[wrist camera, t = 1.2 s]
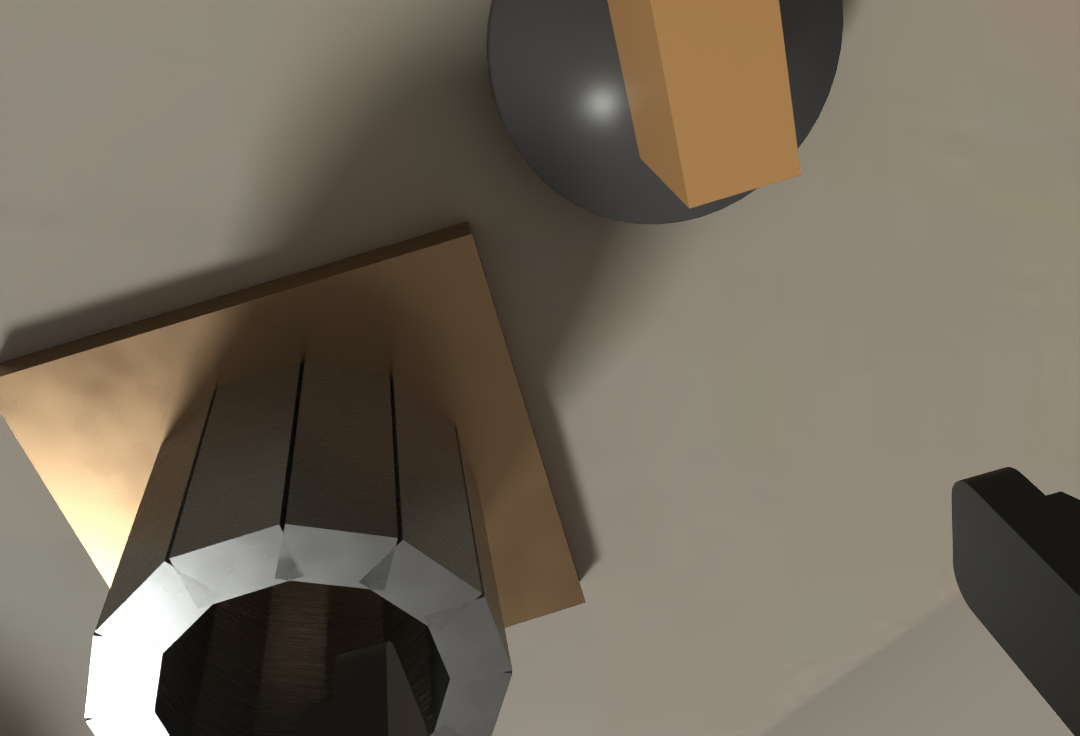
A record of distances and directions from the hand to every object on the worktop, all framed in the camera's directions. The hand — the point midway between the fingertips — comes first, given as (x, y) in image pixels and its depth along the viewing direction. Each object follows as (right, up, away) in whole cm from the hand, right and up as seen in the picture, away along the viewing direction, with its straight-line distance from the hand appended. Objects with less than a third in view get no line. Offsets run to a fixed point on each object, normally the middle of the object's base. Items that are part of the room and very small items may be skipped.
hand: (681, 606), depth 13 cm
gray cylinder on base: (-10, -1, +22) cm, 24 cm away
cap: (+1, +14, +17) cm, 22 cm away
